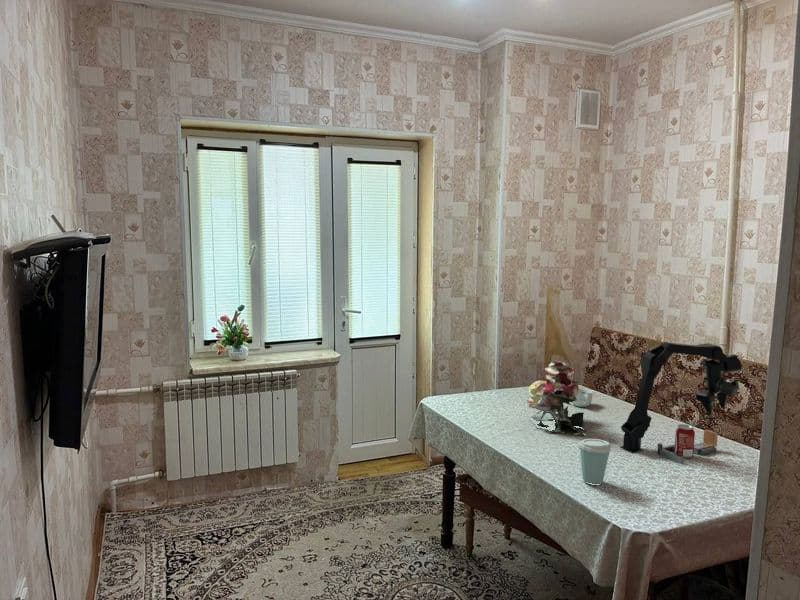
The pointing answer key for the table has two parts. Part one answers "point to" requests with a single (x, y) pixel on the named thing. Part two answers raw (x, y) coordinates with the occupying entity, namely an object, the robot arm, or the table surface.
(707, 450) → the ram guide
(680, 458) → the press fence
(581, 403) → the teacup
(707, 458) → the table surface
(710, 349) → the robot arm
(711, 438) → the brown boxy piece
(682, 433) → the soda can
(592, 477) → the disposable coffee cup
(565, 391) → the rose bouquet
